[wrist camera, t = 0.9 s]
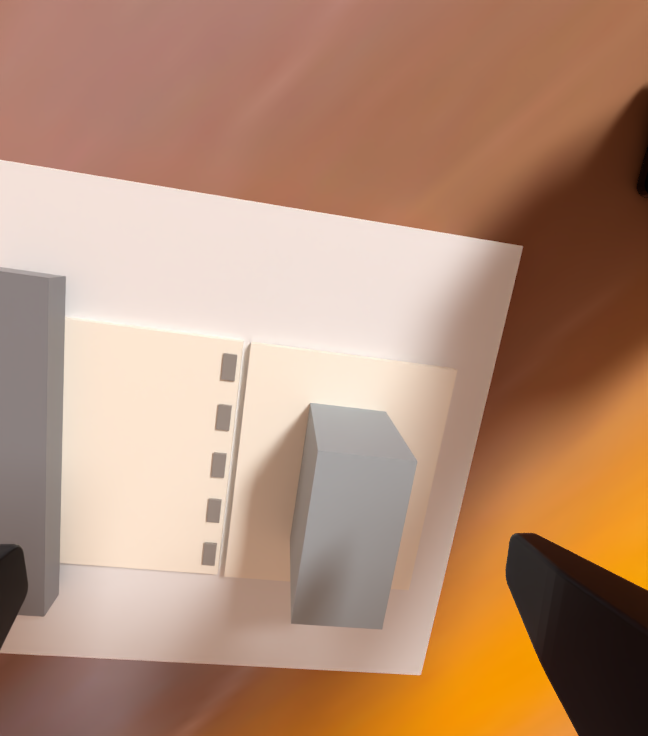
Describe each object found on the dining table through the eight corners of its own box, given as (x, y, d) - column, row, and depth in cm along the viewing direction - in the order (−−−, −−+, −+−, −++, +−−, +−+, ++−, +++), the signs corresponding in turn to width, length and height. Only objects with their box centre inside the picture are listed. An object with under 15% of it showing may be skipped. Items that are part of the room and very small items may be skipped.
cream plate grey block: (453, 368, 18) (512, 407, 14) (406, 583, 21) (442, 682, 16) (251, 341, 17) (238, 373, 13) (225, 570, 20) (205, 670, 15)
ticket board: (505, 246, 19) (546, 245, 16) (412, 649, 23) (431, 707, 20) (-75, 151, 16) (-155, 128, 13) (-55, 621, 21) (-111, 683, 18)
